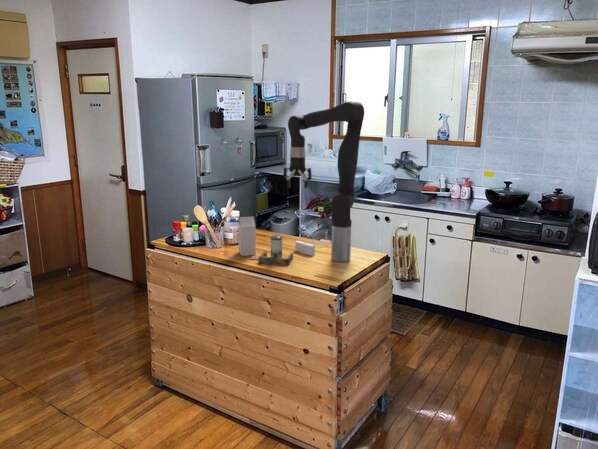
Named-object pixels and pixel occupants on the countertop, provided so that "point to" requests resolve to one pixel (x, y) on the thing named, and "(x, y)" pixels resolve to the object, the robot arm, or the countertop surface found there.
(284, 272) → the countertop surface
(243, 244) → the milk carton
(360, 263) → the countertop surface
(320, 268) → the countertop surface
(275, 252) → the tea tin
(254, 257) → the terracotta tag
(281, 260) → the dock
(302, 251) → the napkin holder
